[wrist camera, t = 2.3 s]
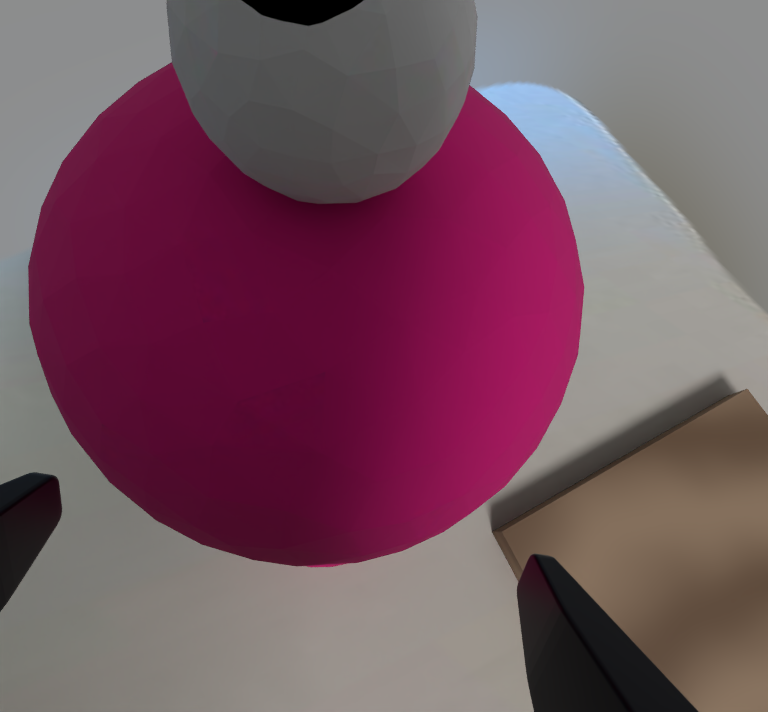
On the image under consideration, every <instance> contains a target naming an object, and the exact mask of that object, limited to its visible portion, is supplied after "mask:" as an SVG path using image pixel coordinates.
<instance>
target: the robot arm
mask: <svg viewBox="0 0 768 712" xmlns="http://www.w3.org/2000/svg"><path fill="white" fill-rule="evenodd" d="M61 514H62V504H61V495H60V487H59V480H58V479H57V477H56V476H54V475H49V474H43V473H37V472H33V473H29V474H26V475H23V476H21V477H18V478H16V479H13V480H11V481H9V482H6V483H4V484H1V485H0V612H1V610H2V609H3V607H4V606H5V605H6V603H7V602H8V601H9V599H10V598H11V596H12V595H13V593H14V592H15V590H16V589H17V587H18V585H19V584H20V582H21V581H22V579H23V578H24V576H25V574H26V573H27V571H28V570H29V568H30V567H31V565H32V563H33V562H34V560H35V559H36V557H37V556H38V554H39V553H40V551H41V549H42V548H43V546H44V545H45V543H46V542H47V540H48V538H49V537H50V535H51V534H52V532H53V531H54V529H55V527H56V526H57V524H58V522H59V520H60V518H61ZM517 599H518V607H519V616H520V624H521V632H522V641H523V649H524V657H525V666H526V673H527V680H528V685H529V690H530V695H531V699H532V704H533V708H534V712H699V711H698V710H697V709H696V708H695V707H694V706H693V705H692V704H691V703H690V702H689V701H688V699H687V698H686V697H685V696H684V695H683V694H682V693H681V692H680V691H679V690H678V689H677V688H676V687H675V686H674V685H673V683H672V682H671V681H670V680H669V679H668V678H667V677H666V676H665V675H664V674H663V673H662V672H661V671H660V670H659V669H658V667H657V666H656V665H655V664H654V663H653V662H652V661H651V660H650V659H649V658H648V657H647V656H646V655H645V654H644V653H643V651H642V650H641V649H640V648H639V647H638V646H637V645H636V644H635V643H634V642H633V641H632V640H631V639H630V638H629V637H628V635H627V634H626V633H625V632H624V631H623V630H622V629H621V628H620V627H619V626H618V625H617V624H616V623H615V622H614V621H613V619H612V618H611V617H610V616H609V615H608V614H607V613H606V612H605V611H604V610H603V609H602V608H601V607H600V606H599V605H598V604H597V602H596V601H595V600H594V599H593V598H592V597H591V596H590V595H589V594H588V593H587V592H586V591H585V590H584V589H583V588H582V586H581V585H580V584H579V583H578V582H577V581H576V580H575V579H574V578H573V577H572V576H571V575H570V574H569V573H568V572H567V570H566V569H565V568H564V567H563V566H562V565H561V564H560V563H559V562H558V561H557V560H556V559H555V558H554V557H552V556H548V555H542V554H536V553H535V554H532V555H530V557H529V558H528V561H527V563H526V565H525V568H524V570H523V572H522V575H521V577H520V579H519V582H518V586H517Z"/></svg>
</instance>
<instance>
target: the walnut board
mask: <svg viewBox="0 0 768 712" xmlns="http://www.w3.org/2000/svg"><path fill="white" fill-rule="evenodd" d="M492 533H493V535H494V536H495V538H496V540H497V542H498V544H499V546H500V548H501V550H502V551H503V553H504V555H505V557H506V559H507V561H508V563H509V565H510V566H511V568H512V570H513V572H514V574H515V576H516V578H517V580H518V581H519V579H520V577H521V575H522V572H523V570H524V568H525V565H526V563H527V561H528V558H529V557H530V555H532V554H535V553H536V554H542V555H548V556H552V557H554V558H555V559H556V560H557V561H558V562H559V563H560V564H561V565H562V566H563V567H564V568H565V569H566V570H567V572H568V573H569V574H570V575H571V576H572V577H573V578H574V579H575V580H576V581H577V582H578V583H579V584H580V585H581V586H582V588H583V589H584V590H585V591H586V592H587V593H588V594H589V595H590V596H591V597H592V598H593V599H594V600H595V601H596V602H597V604H598V605H599V606H600V607H601V608H602V609H603V610H604V611H605V612H606V613H607V614H608V615H609V616H610V617H611V618H612V619H613V621H614V622H615V623H616V624H617V625H618V626H619V627H620V628H621V629H622V630H623V631H624V632H625V633H626V634H627V635H628V637H629V638H630V639H631V640H632V641H633V642H634V643H635V644H636V645H637V646H638V647H639V648H640V649H641V650H642V651H643V653H644V654H645V655H646V656H647V657H648V658H649V659H650V660H651V661H652V662H653V663H654V664H655V665H656V666H657V667H658V669H659V670H660V671H661V672H662V673H663V674H664V675H665V676H666V677H667V678H668V679H669V680H670V681H671V682H672V683H673V685H674V686H675V687H676V688H677V689H678V690H679V691H680V692H681V693H682V694H683V695H684V696H685V697H686V698H687V699H688V701H689V702H690V703H691V704H692V705H693V706H694V707H695V708H696V709H697V710H698V711H699V712H768V415H767V414H766V413H765V411H764V410H763V409H762V407H761V406H760V405H759V403H758V402H757V401H756V399H755V398H754V397H753V396H752V394H751V393H750V392H749V390H748V389H746V390H743V391H740V392H737V393H734V394H732V395H729V396H727V397H725V398H723V399H722V400H720V401H718V402H716V403H715V404H713V405H711V406H709V407H708V408H706V409H704V410H702V411H701V412H699V413H697V414H696V415H694V416H692V417H690V418H689V419H687V420H685V421H683V422H682V423H680V424H678V425H677V426H675V427H673V428H671V429H670V430H668V431H666V432H664V433H663V434H661V435H659V436H657V437H656V438H654V439H652V440H651V441H649V442H647V443H645V444H644V445H642V446H640V447H638V448H637V449H635V450H633V451H632V452H630V453H628V454H626V455H625V456H623V457H621V458H619V459H618V460H616V461H614V462H612V463H611V464H609V465H607V466H606V467H604V468H602V469H600V470H599V471H597V472H595V473H593V474H592V475H590V476H588V477H587V478H585V479H583V480H581V481H580V482H578V483H576V484H574V485H573V486H571V487H569V488H567V489H566V490H564V491H562V492H561V493H559V494H557V495H555V496H554V497H552V498H550V499H548V500H547V501H545V502H543V503H541V504H540V505H538V506H536V507H535V508H533V509H531V510H529V511H528V512H526V513H524V514H522V515H521V516H519V517H517V518H516V519H514V520H512V521H510V522H509V523H507V524H505V525H503V526H502V527H500V528H498V529H496V530H495V531H493V532H492Z"/></svg>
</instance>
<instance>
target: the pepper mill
mask: <svg viewBox="0 0 768 712" xmlns="http://www.w3.org/2000/svg"><path fill="white" fill-rule="evenodd" d="M167 15H168V26H169V37H170V46H171V56H172V63H170V64H168V65H166V66H165V67H163V68H161V69H160V70H158V71H156V72H155V73H153V74H151V75H150V76H148V77H146V78H144V79H143V80H141V81H139V82H138V83H137V84H135V85H134V86H133V87H132V88H131V89H130V90H128V91H127V92H126V93H125V94H124V95H122V96H121V97H120V98H119V99H118V100H116V101H115V102H114V103H113V104H112V105H111V106H109V107H108V108H107V109H106V110H105V111H104V112H102V113H101V114H100V115H99V116H98V117H97V118H96V120H95V121H94V122H93V124H92V125H91V126H90V127H89V129H88V130H87V131H86V133H85V134H84V135H83V136H82V138H81V139H80V140H79V141H78V143H77V144H76V145H75V146H74V148H73V149H72V150H71V152H70V153H69V154H68V156H67V157H66V158H65V159H64V161H63V162H62V164H61V166H60V169H59V170H58V173H57V175H56V177H55V179H54V182H53V184H52V186H51V188H50V190H49V192H48V194H47V196H46V199H45V201H44V203H43V205H42V207H41V212H40V216H39V221H38V225H37V230H36V234H35V239H34V243H33V248H32V252H31V257H30V261H29V266H28V271H29V324H30V327H31V331H32V335H33V339H34V342H35V346H36V350H37V354H38V357H39V360H40V363H41V365H42V368H43V371H44V374H45V377H46V380H47V383H48V386H49V389H50V392H51V394H52V396H53V398H54V400H55V402H56V404H57V406H58V408H59V410H60V412H61V414H62V416H63V418H64V420H65V422H66V424H67V426H68V428H69V430H70V432H71V434H72V435H73V437H74V438H75V439H76V440H77V442H78V443H79V444H80V445H81V447H82V448H83V449H84V450H85V452H86V453H87V454H88V455H89V457H90V458H91V459H92V460H93V462H94V463H95V464H96V465H97V467H98V468H99V469H100V470H101V472H102V473H103V474H104V475H105V477H106V478H107V479H108V481H109V482H110V483H111V484H113V485H114V486H115V487H116V488H117V489H119V490H120V491H121V492H122V493H124V494H125V495H126V496H127V497H128V498H130V499H131V500H132V501H133V502H135V503H136V504H137V505H138V506H139V507H141V508H142V509H143V510H144V511H146V512H147V513H148V514H149V515H150V516H152V517H153V518H154V519H155V520H157V521H159V522H160V523H162V524H164V525H166V526H168V527H170V528H172V529H174V530H176V531H178V532H179V533H181V534H183V535H185V536H187V537H189V538H191V539H193V540H195V541H196V542H198V543H200V544H202V545H206V546H209V547H212V548H216V549H219V550H222V551H226V552H229V553H232V554H236V555H239V556H242V557H246V558H249V559H252V560H257V561H264V562H271V563H278V564H285V565H292V566H308V567H333V566H338V565H342V564H347V563H359V562H362V561H366V560H370V559H374V558H377V557H381V556H385V555H389V554H392V553H396V552H400V551H403V550H405V549H408V548H410V547H412V546H414V545H416V544H418V543H421V542H423V541H425V540H427V539H429V538H431V537H433V536H436V535H438V534H440V533H442V532H444V531H445V530H447V529H448V528H450V527H451V526H453V525H454V524H456V523H457V522H459V521H460V520H462V519H463V518H464V517H466V516H467V515H469V514H470V513H471V512H473V511H474V510H475V509H477V508H478V507H479V506H481V505H482V504H483V503H485V502H486V501H487V500H488V499H490V498H491V497H492V496H493V495H495V494H496V493H497V492H498V491H500V490H501V489H502V488H504V487H505V486H506V485H507V484H508V482H509V481H510V480H511V479H512V477H513V476H514V475H515V474H516V473H517V471H518V470H519V469H520V468H521V467H522V465H523V464H524V463H525V462H526V461H527V459H528V458H529V457H530V456H531V455H532V453H533V452H534V451H535V450H536V449H537V447H538V445H539V443H540V441H541V440H542V438H543V436H544V434H545V432H546V430H547V429H548V427H549V425H550V423H551V421H552V419H553V418H554V416H555V414H556V412H557V410H558V409H559V407H560V405H561V402H562V400H563V397H564V394H565V391H566V388H567V385H568V382H569V379H570V376H571V373H572V370H573V367H574V365H575V362H576V359H577V356H578V348H579V339H580V329H581V318H582V307H583V295H584V283H583V278H582V272H581V267H580V261H579V256H578V250H577V245H576V239H575V236H574V232H573V229H572V225H571V222H570V218H569V214H568V211H567V207H566V204H565V200H564V199H563V197H562V195H561V193H560V191H559V189H558V188H557V186H556V184H555V182H554V180H553V178H552V176H551V175H550V173H549V171H548V169H547V167H546V165H545V164H544V162H543V160H542V158H541V156H540V154H539V153H538V152H537V151H536V150H535V148H534V147H533V146H532V145H531V144H530V143H529V141H528V140H527V139H526V138H525V137H524V135H523V134H522V133H521V132H520V131H519V130H518V128H517V127H516V126H515V125H514V124H513V123H512V121H511V120H510V119H509V118H508V117H507V116H506V114H504V113H503V112H502V111H501V110H499V109H498V108H497V107H496V106H495V105H493V104H492V103H491V102H490V101H488V100H487V99H486V98H485V97H483V96H482V95H481V94H480V93H479V92H477V91H476V90H475V89H474V88H472V87H471V86H470V85H469V84H470V81H471V77H472V74H473V71H474V63H475V47H476V29H477V12H476V7H475V2H474V0H167Z"/></svg>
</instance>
